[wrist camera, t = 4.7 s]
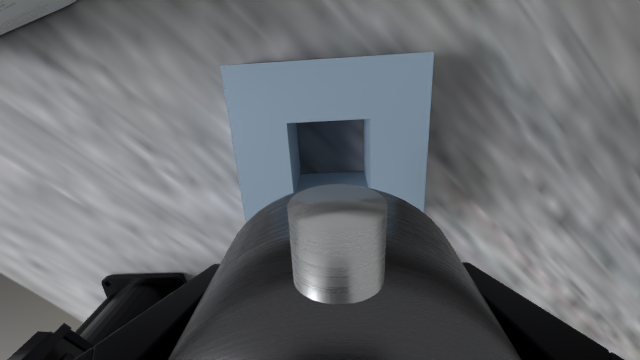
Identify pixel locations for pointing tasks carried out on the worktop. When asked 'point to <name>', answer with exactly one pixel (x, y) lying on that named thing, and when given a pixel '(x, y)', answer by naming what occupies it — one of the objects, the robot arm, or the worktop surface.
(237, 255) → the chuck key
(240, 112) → the block
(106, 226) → the worktop surface
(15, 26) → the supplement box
